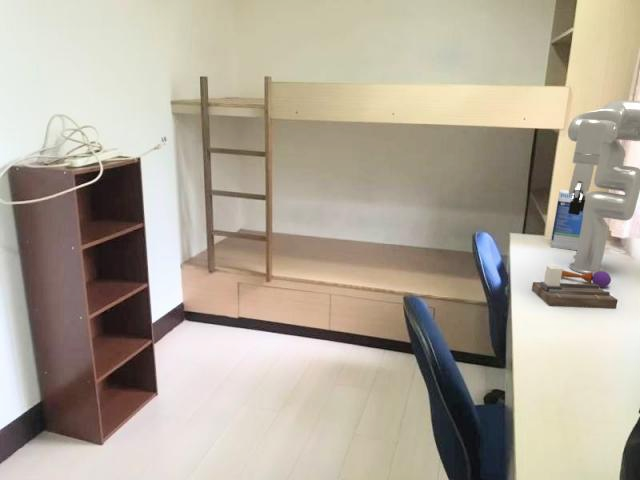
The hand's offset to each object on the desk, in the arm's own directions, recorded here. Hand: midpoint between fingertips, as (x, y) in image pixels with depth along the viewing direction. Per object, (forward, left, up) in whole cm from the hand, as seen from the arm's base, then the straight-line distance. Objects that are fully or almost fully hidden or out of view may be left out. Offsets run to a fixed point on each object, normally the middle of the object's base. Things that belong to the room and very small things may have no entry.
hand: (575, 212), depth 170 cm
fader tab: (+1, -4, -26) cm, 27 cm away
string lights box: (-63, +32, -30) cm, 76 cm away
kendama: (-16, +15, -30) cm, 37 cm away
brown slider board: (+1, +4, -30) cm, 30 cm away
